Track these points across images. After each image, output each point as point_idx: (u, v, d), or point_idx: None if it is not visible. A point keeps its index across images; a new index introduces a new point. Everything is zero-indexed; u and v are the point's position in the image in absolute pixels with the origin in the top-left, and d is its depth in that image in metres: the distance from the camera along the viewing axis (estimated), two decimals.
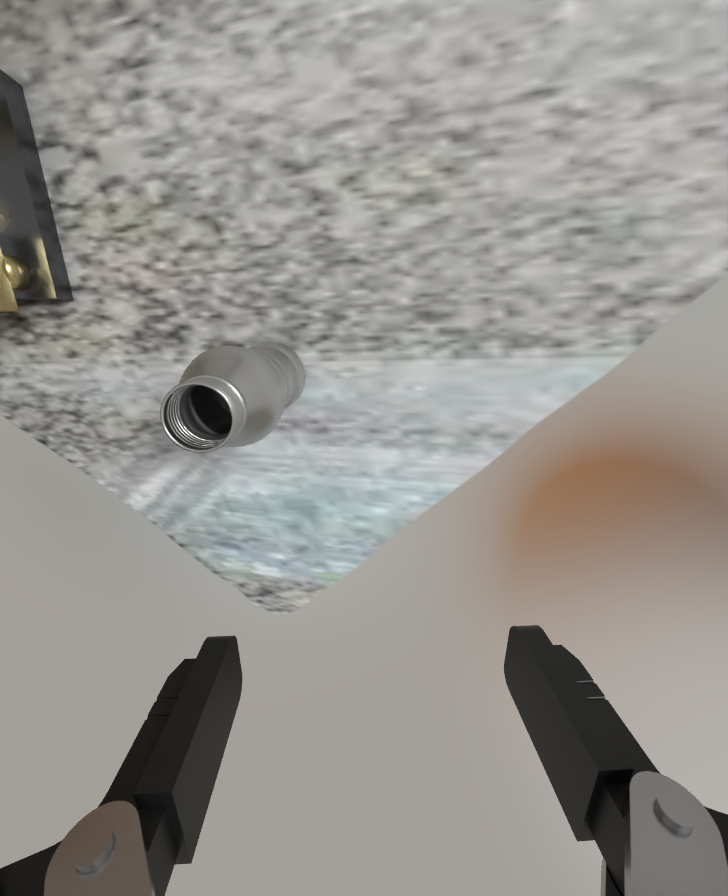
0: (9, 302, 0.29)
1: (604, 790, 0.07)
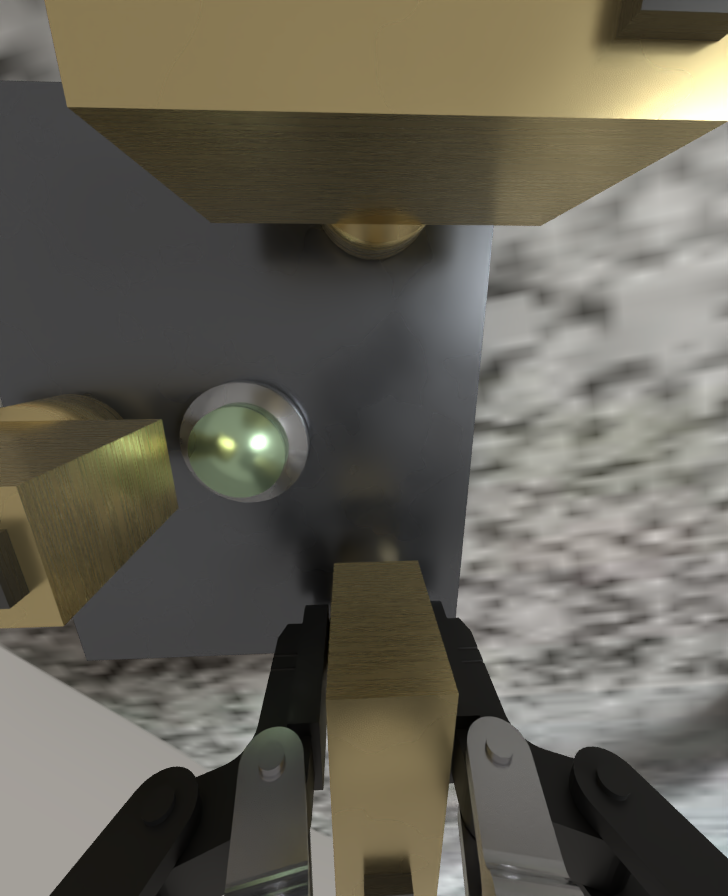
0: None
1: (457, 734, 0.08)
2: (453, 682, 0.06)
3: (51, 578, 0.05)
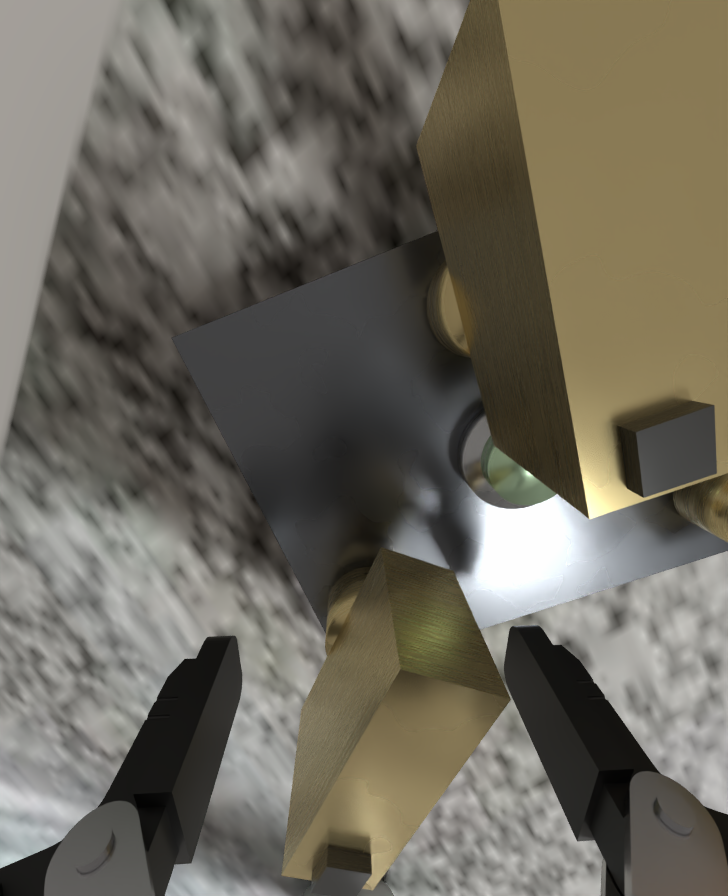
0: None
1: (604, 789, 0.07)
2: (504, 688, 0.07)
3: (638, 499, 0.05)
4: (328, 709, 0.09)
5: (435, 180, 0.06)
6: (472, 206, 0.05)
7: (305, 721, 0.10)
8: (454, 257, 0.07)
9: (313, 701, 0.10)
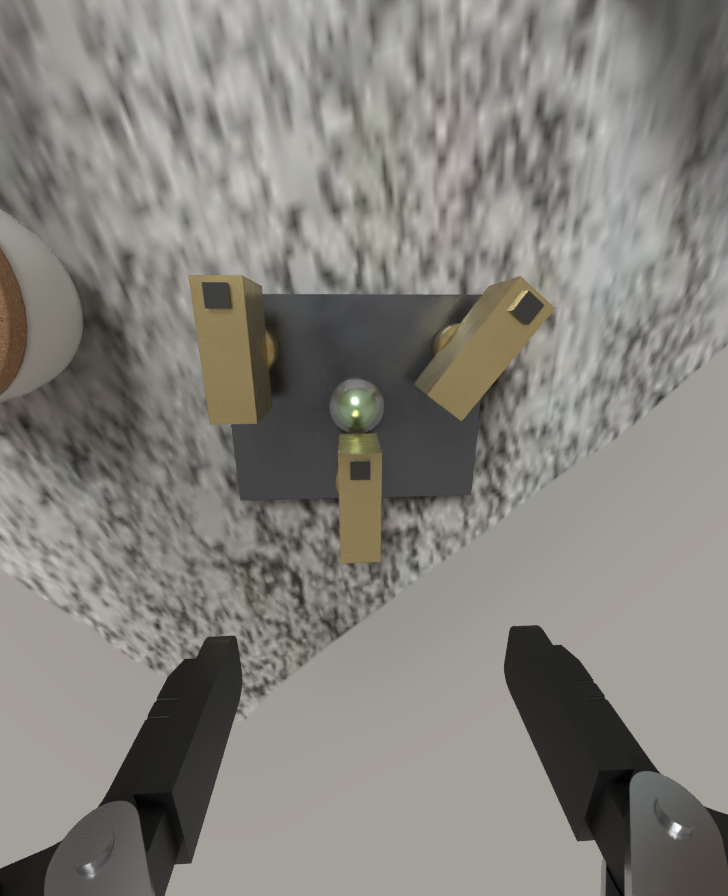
0: (485, 295, 0.18)
1: (603, 789, 0.07)
2: (426, 394, 0.17)
3: (366, 453, 0.17)
4: None
5: None
6: None
7: None
8: None
9: None
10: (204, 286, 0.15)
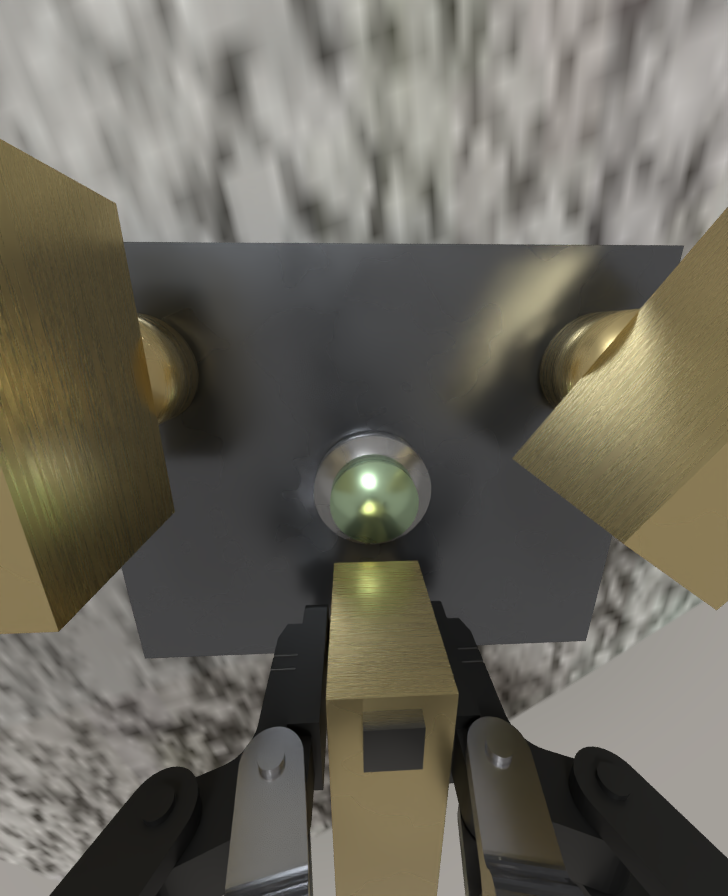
0: None
1: (457, 734, 0.08)
2: None
3: (411, 692, 0.06)
4: None
5: None
6: None
7: None
8: None
9: None
10: None
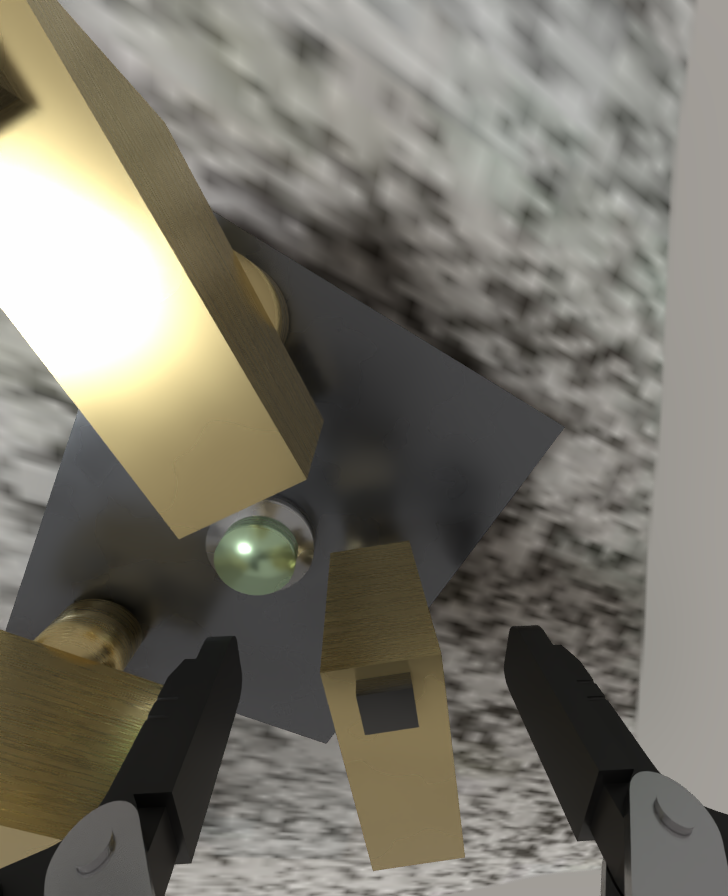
0: None
1: (604, 789, 0.07)
2: None
3: (397, 657, 0.06)
4: (209, 246, 0.06)
5: None
6: None
7: (165, 140, 0.06)
8: None
9: (190, 182, 0.06)
10: None
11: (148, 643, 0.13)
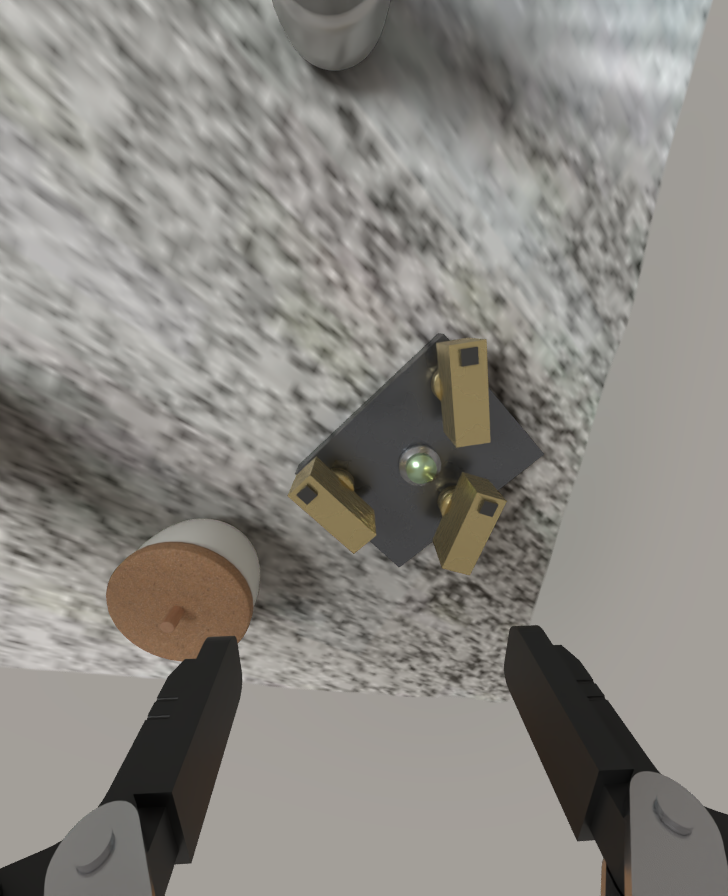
0: (438, 353, 0.24)
1: (604, 790, 0.07)
2: (456, 446, 0.23)
3: (495, 497, 0.24)
4: None
5: None
6: None
7: None
8: None
9: None
10: (298, 495, 0.23)
11: None
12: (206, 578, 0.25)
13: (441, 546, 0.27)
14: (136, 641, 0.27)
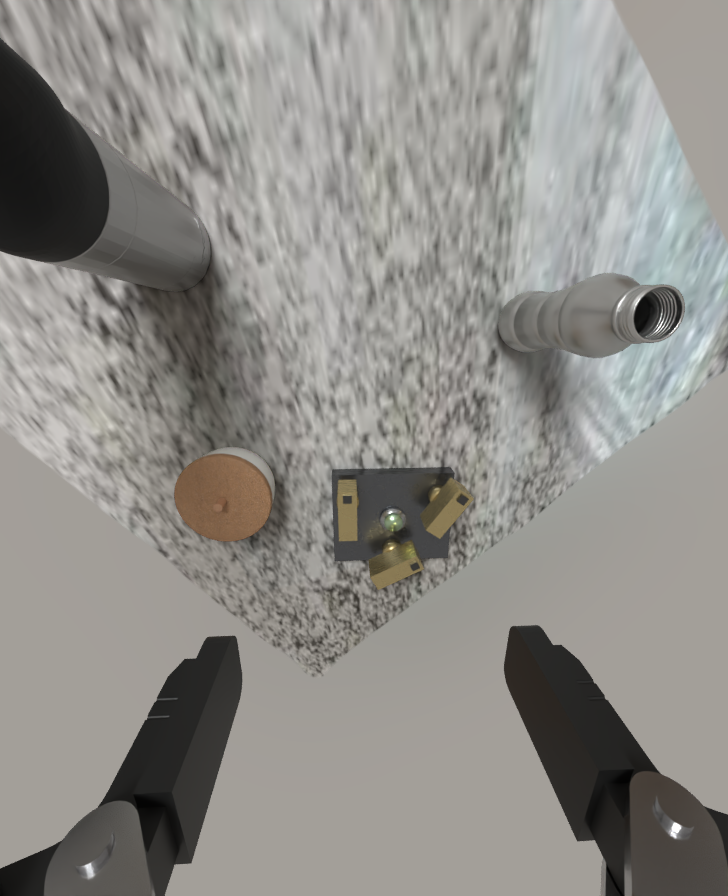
0: (448, 483, 0.43)
1: (604, 789, 0.07)
2: (425, 529, 0.42)
3: (421, 564, 0.43)
4: None
5: None
6: None
7: None
8: None
9: None
10: (343, 496, 0.40)
11: None
12: (257, 498, 0.39)
13: (375, 566, 0.45)
14: (178, 499, 0.39)
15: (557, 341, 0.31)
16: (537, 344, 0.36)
